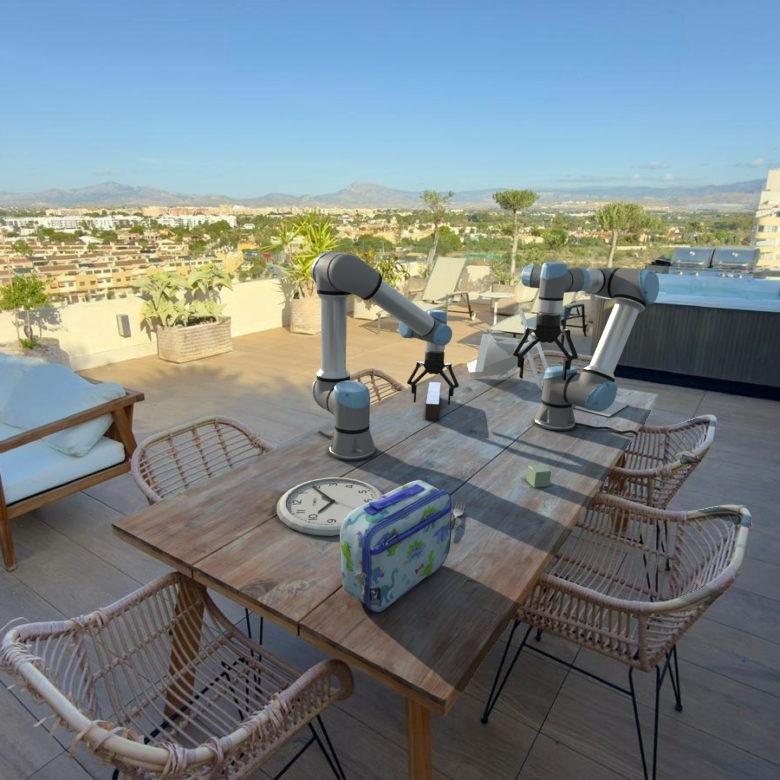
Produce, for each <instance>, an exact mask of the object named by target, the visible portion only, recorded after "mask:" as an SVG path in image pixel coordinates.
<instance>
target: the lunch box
mask: <svg viewBox="0 0 780 780" xmlns="http://www.w3.org/2000/svg"><path fill="white" fill-rule="evenodd" d="M383 494H384V495H382V496H380V497H378V498H376V499H374V500H372V501H370V502H368V503H366V504H364V505H362V506H360V507H358V508H356V509H354V510H353V511H351V512H350V513H349V514H348V515H347V516H346V518H345V519H344V521H343V523H342V526H341V530H340V535H339V551H340V574H341V576H340V577H341V585H342V588H343V589H342V590H343V591H344V593H346V594H348V595H350V596H352V597H353V598H355V599H357V600H358V601H359V602H361V603H362V604H364V605H365V606H366V608H367V609H369V610H370V611H371V612H374V613H381V612H384V611H385V610H386V609H387V608H389V607H390V606H391V605H392V604H393V603H395V602H396V601H397V600H399V599H400V598H401V597H402V596H404V595H405V594H407V593H408V592H410V591H411V590H412V589H413V588H415V587H416V586H417V585H418V584H419V583H420V582H421V581H423V580H425V579H426V578H427V577H429V576H430V575H432V574H434V573H435V572H436V571H438V570H439V569H440V568H441V567H442V566H443V565H444V563H445V562H446V560H447V558H448V556H449V553H450V550H451V549H450V548H451V545H452V543H451V542H452V530H451V522H452V497H451V494H450V492H449V491H448V490H446V489H438V488H437V487H435V486H434V485H431V484H429V483H427V482H426V481H424V480H421V479H416V480H413V481H410V482H408V483H405V484H403V485H401V486H399V487H397V488H394V489H393V490H390V491H388V492H387V493H383Z"/></svg>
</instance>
